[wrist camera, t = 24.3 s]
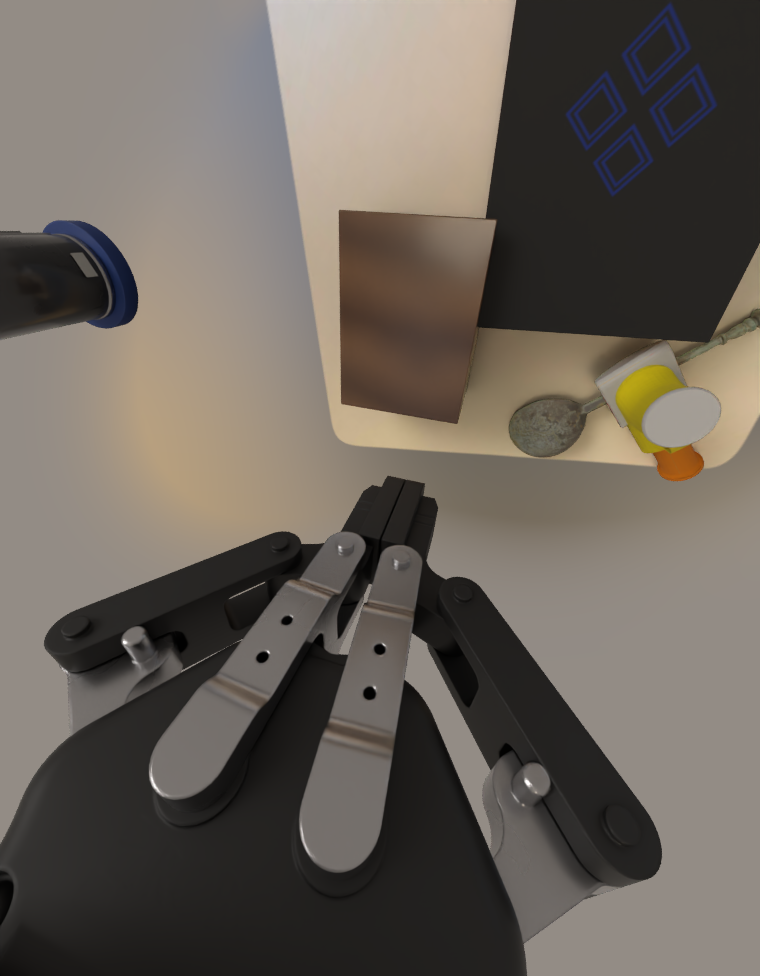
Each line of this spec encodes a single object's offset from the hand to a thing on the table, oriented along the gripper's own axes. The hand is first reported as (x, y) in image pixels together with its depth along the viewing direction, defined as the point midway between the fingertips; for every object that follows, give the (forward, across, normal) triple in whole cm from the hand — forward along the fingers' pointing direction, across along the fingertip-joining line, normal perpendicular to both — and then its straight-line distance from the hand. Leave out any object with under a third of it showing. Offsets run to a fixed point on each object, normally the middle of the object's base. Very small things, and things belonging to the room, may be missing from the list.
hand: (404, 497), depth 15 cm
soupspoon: (+28, -13, +1) cm, 31 cm away
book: (+29, -8, -15) cm, 34 cm away
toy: (+18, -20, +5) cm, 28 cm away
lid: (+21, +5, -2) cm, 22 cm away
